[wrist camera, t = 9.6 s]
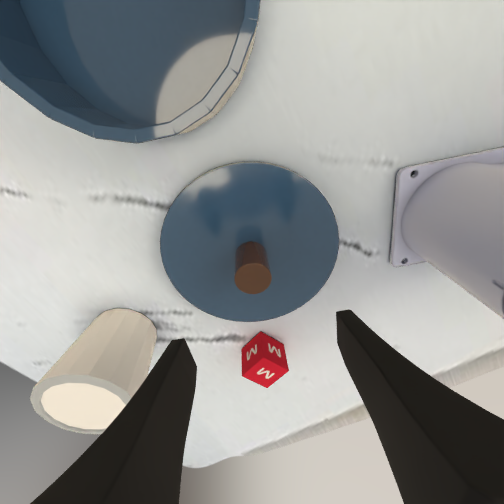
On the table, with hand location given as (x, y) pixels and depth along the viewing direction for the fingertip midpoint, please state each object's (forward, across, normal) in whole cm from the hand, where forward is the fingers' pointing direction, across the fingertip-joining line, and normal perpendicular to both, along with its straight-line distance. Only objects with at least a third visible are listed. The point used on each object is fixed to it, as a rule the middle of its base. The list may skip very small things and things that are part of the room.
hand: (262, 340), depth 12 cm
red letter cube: (+9, +1, +11) cm, 14 cm away
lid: (+8, 0, 0) cm, 9 cm away
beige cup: (+9, +13, +6) cm, 17 cm away
